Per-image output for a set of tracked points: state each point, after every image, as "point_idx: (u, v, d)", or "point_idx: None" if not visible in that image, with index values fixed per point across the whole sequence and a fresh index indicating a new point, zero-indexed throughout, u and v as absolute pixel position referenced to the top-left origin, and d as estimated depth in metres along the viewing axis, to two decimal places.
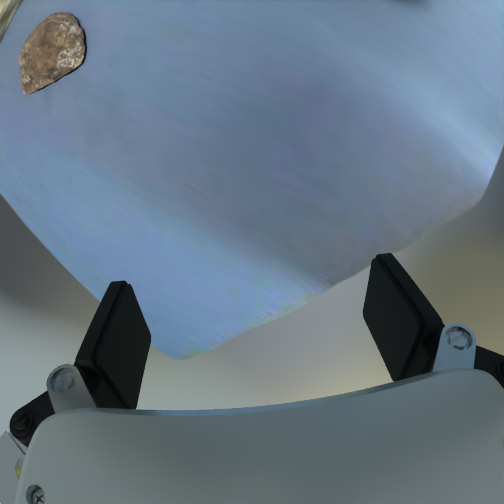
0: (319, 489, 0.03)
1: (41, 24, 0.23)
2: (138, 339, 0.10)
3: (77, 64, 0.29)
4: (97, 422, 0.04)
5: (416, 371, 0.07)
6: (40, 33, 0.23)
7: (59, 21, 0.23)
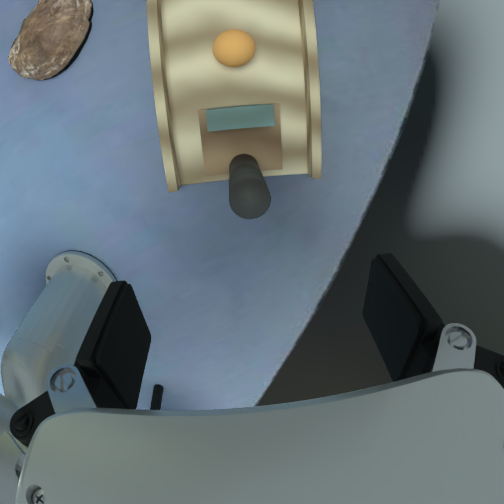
0: (319, 489, 0.03)
1: (64, 46, 0.21)
2: (138, 339, 0.10)
3: (10, 52, 0.20)
4: (97, 422, 0.04)
5: (416, 371, 0.07)
6: (47, 42, 0.19)
7: (39, 67, 0.21)
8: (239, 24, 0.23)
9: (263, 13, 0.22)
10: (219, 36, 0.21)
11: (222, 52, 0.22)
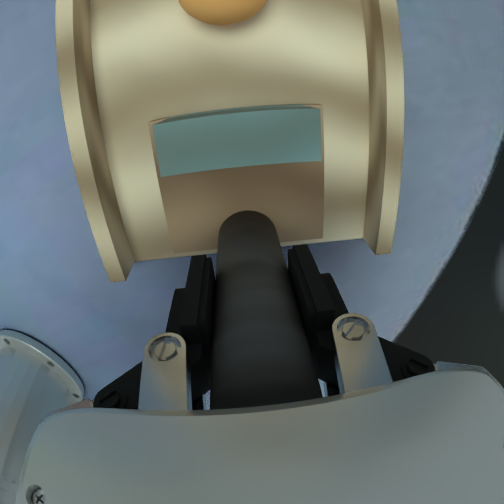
0: (319, 489, 0.03)
1: None
2: None
3: None
4: (97, 422, 0.04)
5: (316, 360, 0.08)
6: None
7: None
8: None
9: None
10: None
11: None
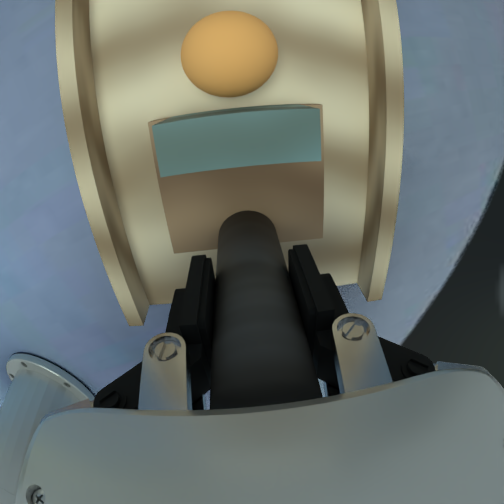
0: (319, 489, 0.03)
1: None
2: None
3: None
4: (97, 422, 0.04)
5: (316, 360, 0.08)
6: None
7: None
8: (241, 3, 0.10)
9: None
10: (194, 27, 0.09)
11: (200, 66, 0.09)
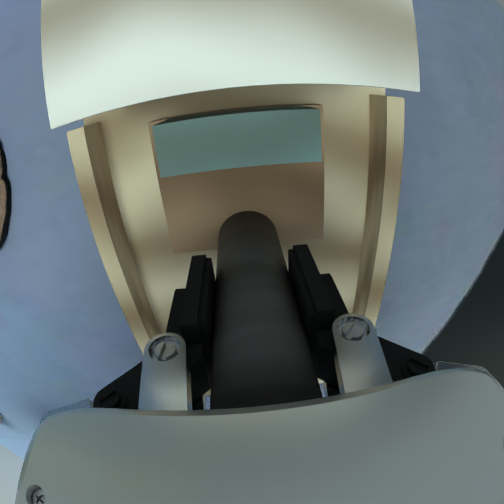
0: (319, 489, 0.03)
1: None
2: None
3: None
4: (97, 422, 0.04)
5: (316, 360, 0.08)
6: None
7: None
8: None
9: None
10: None
11: None
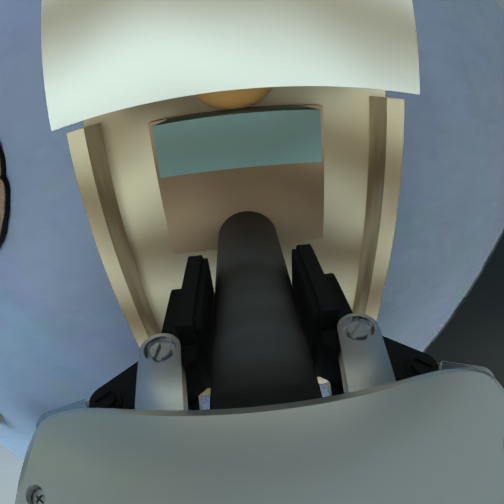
0: (319, 489, 0.03)
1: None
2: (213, 312, 0.11)
3: None
4: (97, 422, 0.04)
5: (320, 360, 0.08)
6: None
7: None
8: None
9: None
10: None
11: (208, 104, 0.11)
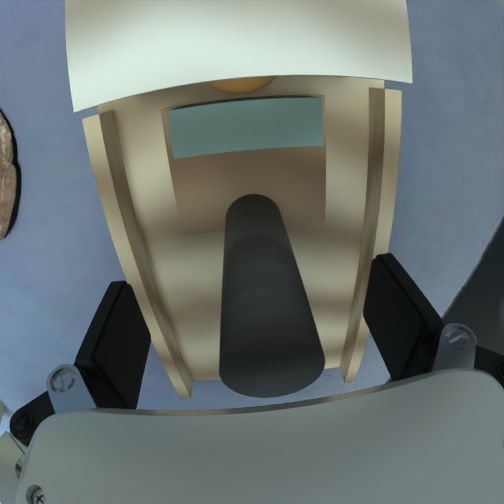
0: (319, 489, 0.03)
1: None
2: (138, 339, 0.10)
3: None
4: (97, 422, 0.04)
5: (416, 371, 0.07)
6: None
7: None
8: None
9: None
10: None
11: (217, 88, 0.11)
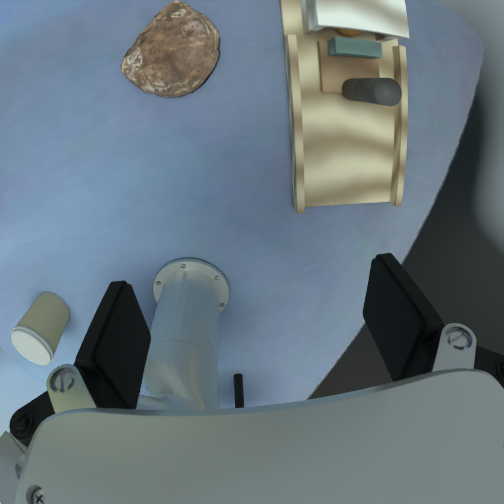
0: (319, 489, 0.03)
1: (198, 71, 0.30)
2: (138, 339, 0.10)
3: (123, 62, 0.29)
4: (97, 422, 0.04)
5: (416, 371, 0.07)
6: (181, 63, 0.28)
7: (170, 85, 0.30)
8: None
9: None
10: None
11: (345, 30, 0.26)
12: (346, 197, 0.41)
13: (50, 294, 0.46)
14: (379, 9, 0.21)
